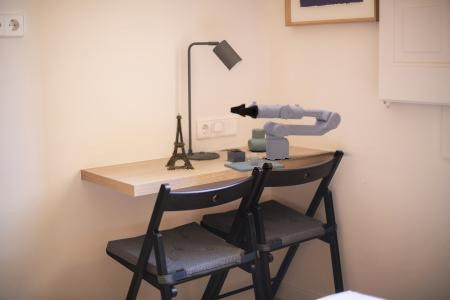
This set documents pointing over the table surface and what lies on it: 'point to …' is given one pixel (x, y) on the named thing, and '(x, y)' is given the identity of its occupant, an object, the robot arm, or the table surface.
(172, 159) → the eiffel tower
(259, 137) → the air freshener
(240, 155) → the dark grey square block
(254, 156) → the piston stand
